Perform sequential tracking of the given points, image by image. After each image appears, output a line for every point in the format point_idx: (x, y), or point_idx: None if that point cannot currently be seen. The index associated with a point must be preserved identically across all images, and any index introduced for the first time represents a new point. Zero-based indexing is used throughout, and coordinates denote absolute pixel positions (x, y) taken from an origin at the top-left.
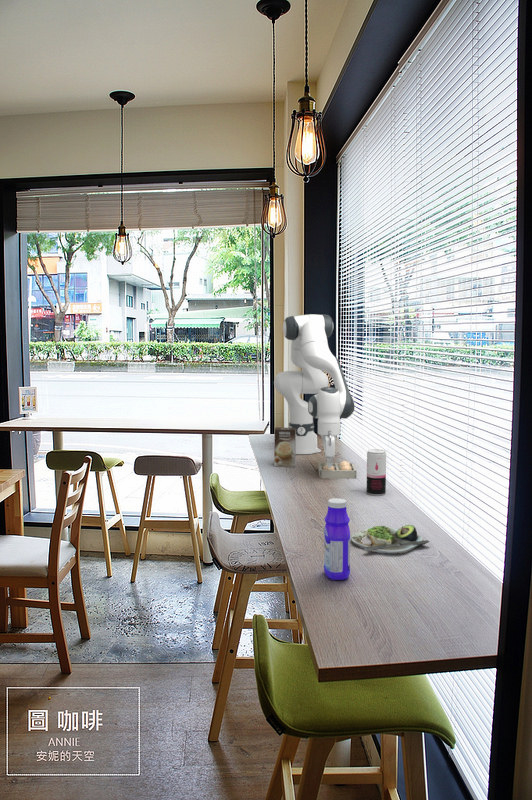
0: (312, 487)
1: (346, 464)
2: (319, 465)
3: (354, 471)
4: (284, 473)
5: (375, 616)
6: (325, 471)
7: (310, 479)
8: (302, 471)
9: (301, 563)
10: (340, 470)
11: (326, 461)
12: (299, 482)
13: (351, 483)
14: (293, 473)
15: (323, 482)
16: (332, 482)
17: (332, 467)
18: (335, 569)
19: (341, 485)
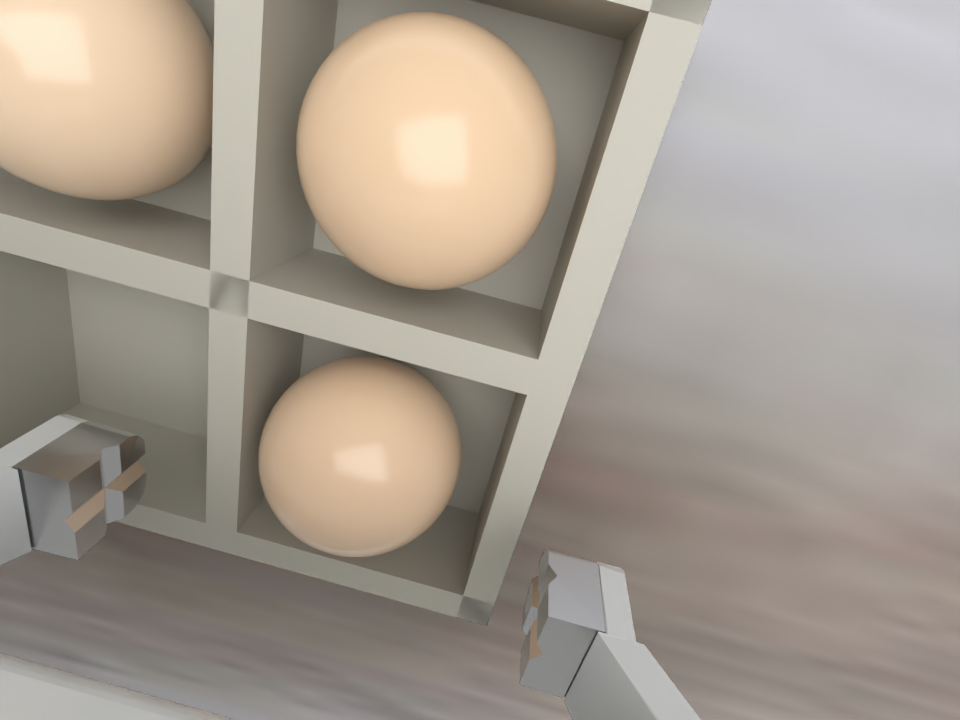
0: (816, 685)
1: (389, 155)
2: (149, 524)
3: (700, 24)
4: (193, 702)
5: None
6: (510, 551)
7: None
8: (94, 556)
9: None
10: (572, 340)
11: (134, 503)
12: (564, 711)
13: (864, 192)
14: (190, 646)
15: (642, 530)
16: (682, 437)
17: (414, 450)
18: None
19: (901, 384)
